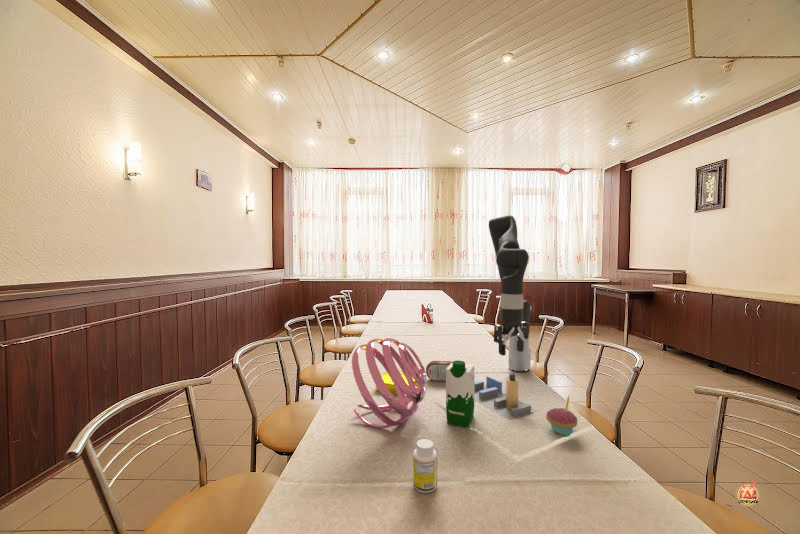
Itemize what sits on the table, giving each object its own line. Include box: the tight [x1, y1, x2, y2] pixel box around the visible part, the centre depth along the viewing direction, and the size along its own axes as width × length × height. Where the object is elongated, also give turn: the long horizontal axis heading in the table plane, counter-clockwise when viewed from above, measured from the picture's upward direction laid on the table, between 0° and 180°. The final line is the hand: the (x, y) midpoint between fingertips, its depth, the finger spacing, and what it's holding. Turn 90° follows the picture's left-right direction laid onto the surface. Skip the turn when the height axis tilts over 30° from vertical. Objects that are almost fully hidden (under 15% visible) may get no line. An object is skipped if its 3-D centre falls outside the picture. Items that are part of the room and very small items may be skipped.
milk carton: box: [445, 360, 475, 429], centre depth 108 cm, size 9×9×20 cm
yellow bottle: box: [505, 372, 519, 411], centre depth 114 cm, size 4×4×12 cm
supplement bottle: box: [412, 438, 438, 494], centre depth 77 cm, size 6×6×10 cm
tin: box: [425, 360, 453, 382], centre depth 143 cm, size 15×3×8 cm, turn 84°
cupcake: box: [545, 394, 578, 438], centre depth 100 cm, size 9×8×12 cm
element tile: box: [375, 370, 419, 396], centre depth 136 cm, size 15×15×5 cm
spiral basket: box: [351, 337, 427, 429], centre depth 109 cm, size 28×28×27 cm
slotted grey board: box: [474, 375, 539, 421], centre depth 121 cm, size 14×26×5 cm, turn 29°
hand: (511, 353), depth 114 cm, fingers open, 8 cm apart
